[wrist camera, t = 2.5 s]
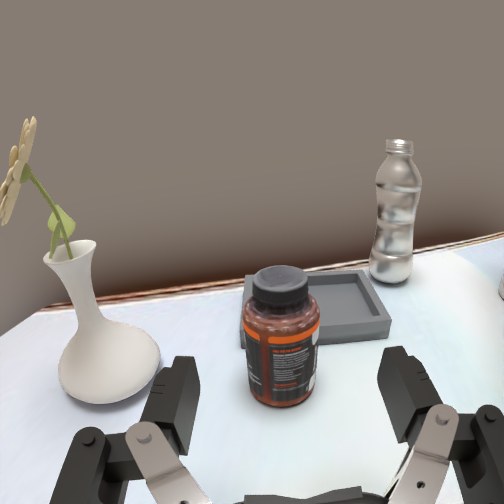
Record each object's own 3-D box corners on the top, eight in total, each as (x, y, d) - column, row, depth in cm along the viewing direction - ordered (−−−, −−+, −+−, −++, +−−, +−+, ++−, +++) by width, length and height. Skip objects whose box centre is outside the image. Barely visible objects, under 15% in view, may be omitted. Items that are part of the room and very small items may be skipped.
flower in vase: (75, 345, 32) (18, 133, 22) (162, 334, 34) (122, 107, 25) (53, 428, 20) (-58, 143, 11) (168, 422, 23) (89, 88, 13)
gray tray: (360, 285, 42) (362, 269, 41) (387, 338, 31) (391, 319, 30) (246, 291, 43) (245, 275, 42) (241, 348, 32) (239, 329, 31)
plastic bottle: (363, 269, 46) (369, 137, 39) (402, 268, 46) (412, 140, 38) (372, 290, 41) (383, 140, 33) (416, 288, 40) (431, 144, 32)
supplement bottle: (328, 386, 26) (340, 277, 21) (277, 421, 23) (275, 309, 18) (285, 355, 30) (284, 252, 26) (236, 382, 27) (223, 275, 23)
